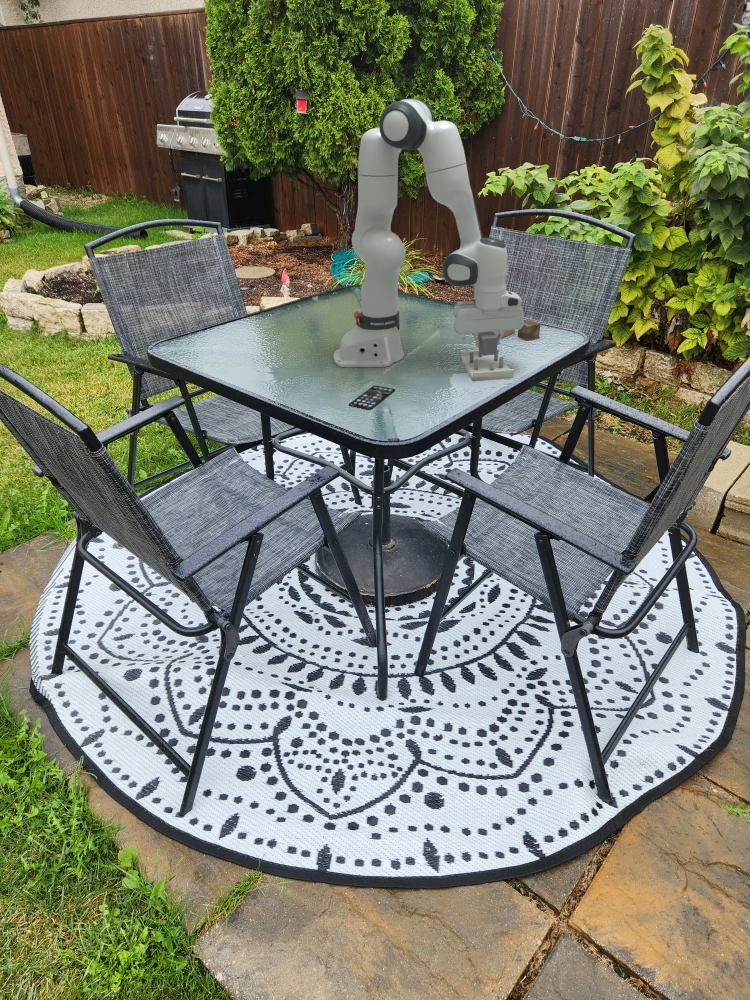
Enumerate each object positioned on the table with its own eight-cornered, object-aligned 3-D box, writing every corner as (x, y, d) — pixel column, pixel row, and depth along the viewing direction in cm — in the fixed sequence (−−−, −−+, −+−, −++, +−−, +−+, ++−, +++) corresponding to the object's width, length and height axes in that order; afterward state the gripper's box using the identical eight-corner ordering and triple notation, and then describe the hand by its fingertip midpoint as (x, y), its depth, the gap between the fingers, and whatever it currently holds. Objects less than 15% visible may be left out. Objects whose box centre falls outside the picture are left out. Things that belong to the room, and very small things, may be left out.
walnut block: (526, 341, 220) (528, 326, 217) (517, 337, 224) (518, 322, 221) (539, 338, 221) (540, 323, 219) (529, 334, 225) (531, 319, 223)
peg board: (472, 380, 194) (473, 367, 192) (460, 358, 209) (460, 346, 207) (513, 377, 195) (514, 364, 193) (497, 355, 210) (498, 343, 208)
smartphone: (396, 389, 191) (370, 409, 180) (396, 391, 191) (370, 411, 180) (374, 384, 194) (347, 404, 183) (374, 387, 194) (347, 406, 184)
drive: (483, 355, 196) (484, 338, 193) (476, 346, 203) (477, 329, 200) (496, 354, 196) (497, 337, 194) (490, 344, 203) (491, 328, 200)
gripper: (456, 305, 187) (455, 352, 195) (527, 299, 189) (523, 346, 196) (451, 298, 193) (450, 344, 200) (520, 292, 194) (517, 338, 201)
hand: (487, 345), depth 198 cm, fingers closed on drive, 4 cm apart
